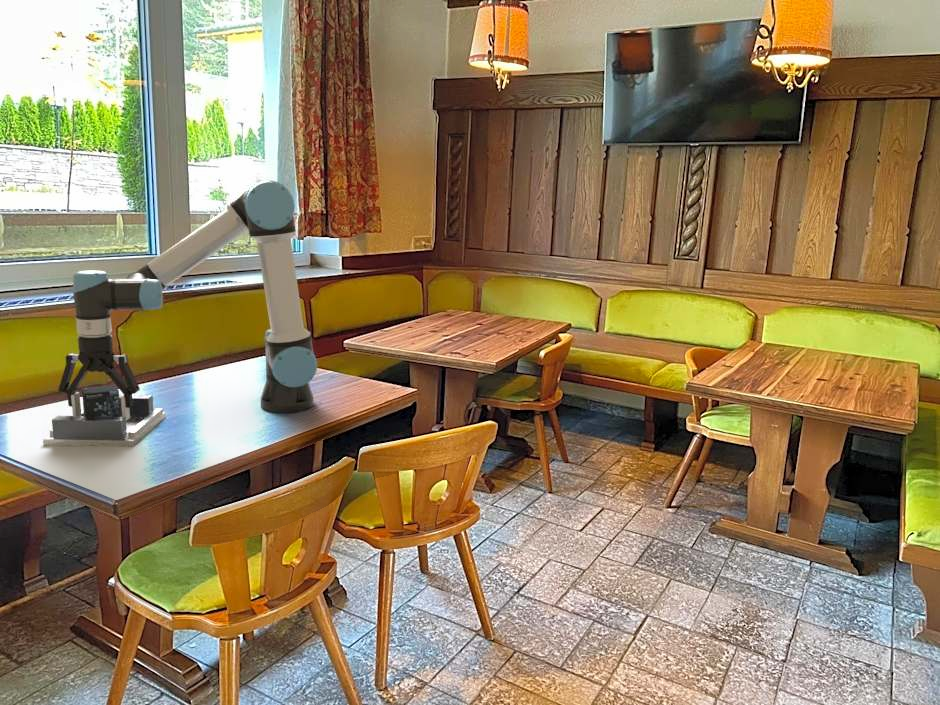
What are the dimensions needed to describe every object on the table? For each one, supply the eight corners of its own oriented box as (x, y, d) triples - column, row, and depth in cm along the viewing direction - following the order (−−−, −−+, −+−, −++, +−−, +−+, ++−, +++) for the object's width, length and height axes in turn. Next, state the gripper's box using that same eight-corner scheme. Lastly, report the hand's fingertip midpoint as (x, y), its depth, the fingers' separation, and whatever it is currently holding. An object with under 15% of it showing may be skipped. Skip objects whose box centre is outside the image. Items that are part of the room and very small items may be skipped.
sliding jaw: (153, 412, 190) (152, 395, 189) (149, 416, 187) (148, 398, 186) (92, 411, 189) (91, 393, 188) (87, 415, 186) (85, 397, 185)
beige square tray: (165, 417, 192) (164, 394, 191) (133, 446, 171) (131, 421, 169) (86, 415, 191) (84, 392, 189) (43, 445, 169) (40, 419, 168)
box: (87, 434, 173) (83, 393, 171) (84, 427, 178) (81, 387, 175) (122, 429, 177) (119, 389, 175) (119, 423, 182) (116, 383, 179)
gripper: (36, 336, 167) (45, 423, 172) (138, 339, 169) (144, 424, 174) (52, 329, 175) (60, 413, 180) (150, 332, 176) (155, 415, 181)
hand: (102, 419), depth 177 cm, fingers open, 11 cm apart
